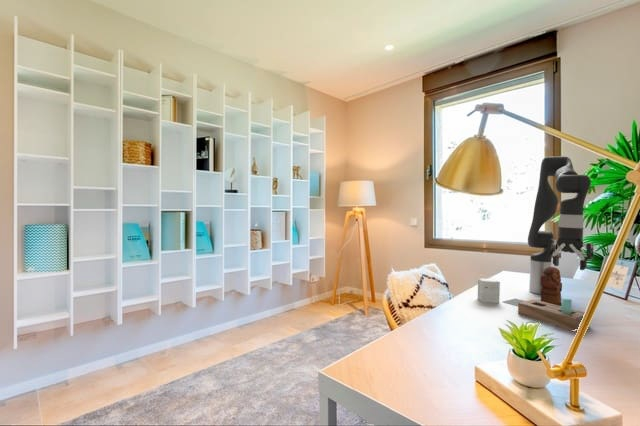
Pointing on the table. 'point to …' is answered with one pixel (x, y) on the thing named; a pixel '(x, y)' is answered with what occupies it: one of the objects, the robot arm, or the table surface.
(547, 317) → the socket block
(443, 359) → the table surface
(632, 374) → the table surface
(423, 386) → the table surface
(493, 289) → the small box
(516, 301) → the mat
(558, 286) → the wooden figurine
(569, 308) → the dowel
